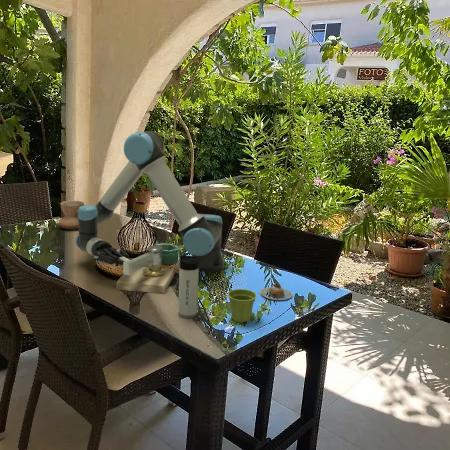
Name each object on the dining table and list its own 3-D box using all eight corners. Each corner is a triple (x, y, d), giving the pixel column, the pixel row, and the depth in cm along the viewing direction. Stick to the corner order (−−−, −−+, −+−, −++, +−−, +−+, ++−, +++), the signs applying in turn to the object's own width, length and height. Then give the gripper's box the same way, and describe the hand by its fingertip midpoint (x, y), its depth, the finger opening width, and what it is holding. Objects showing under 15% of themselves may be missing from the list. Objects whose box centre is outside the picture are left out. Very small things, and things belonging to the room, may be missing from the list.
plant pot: (252, 326, 148) (254, 301, 146) (224, 323, 150) (225, 298, 148) (256, 314, 157) (258, 290, 155) (229, 311, 159) (230, 287, 157)
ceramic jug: (52, 227, 250) (50, 202, 247) (74, 223, 262) (73, 198, 258) (73, 234, 241) (72, 207, 237) (95, 228, 252) (94, 203, 249)
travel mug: (186, 308, 159) (188, 253, 154) (200, 314, 155) (202, 257, 150) (173, 314, 155) (174, 257, 150) (188, 320, 151) (189, 262, 146)
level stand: (173, 276, 188) (174, 268, 188) (164, 293, 171) (164, 285, 170) (130, 273, 190) (130, 265, 189) (116, 289, 172) (116, 281, 172)
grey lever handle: (151, 267, 187) (151, 244, 185) (167, 271, 184) (168, 247, 181) (117, 284, 168) (116, 258, 166) (135, 288, 165) (135, 262, 163)
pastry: (266, 303, 167) (267, 292, 166) (255, 291, 178) (256, 279, 177) (297, 301, 171) (298, 289, 170) (284, 288, 182) (285, 278, 181)
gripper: (114, 254, 192) (146, 271, 175) (84, 260, 183) (114, 278, 166) (114, 237, 190) (146, 252, 173) (83, 242, 181) (114, 258, 165)
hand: (130, 265), depth 170 cm, fingers closed
